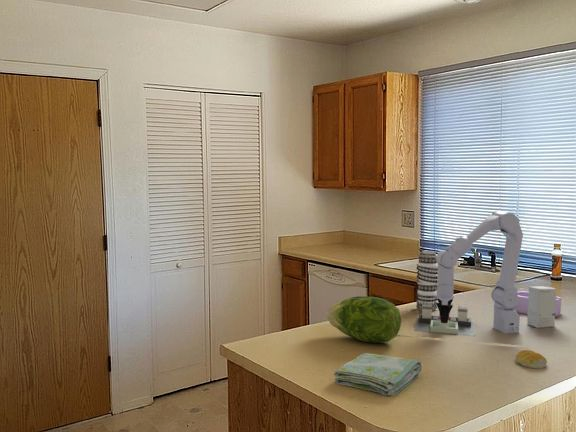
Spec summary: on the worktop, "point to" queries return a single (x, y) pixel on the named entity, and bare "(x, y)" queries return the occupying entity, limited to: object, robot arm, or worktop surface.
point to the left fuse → (427, 311)
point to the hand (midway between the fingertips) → (444, 320)
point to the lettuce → (366, 318)
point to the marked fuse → (443, 323)
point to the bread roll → (530, 359)
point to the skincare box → (541, 306)
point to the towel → (378, 373)
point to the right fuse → (462, 313)
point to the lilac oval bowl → (523, 303)
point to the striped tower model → (427, 280)
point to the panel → (454, 327)
